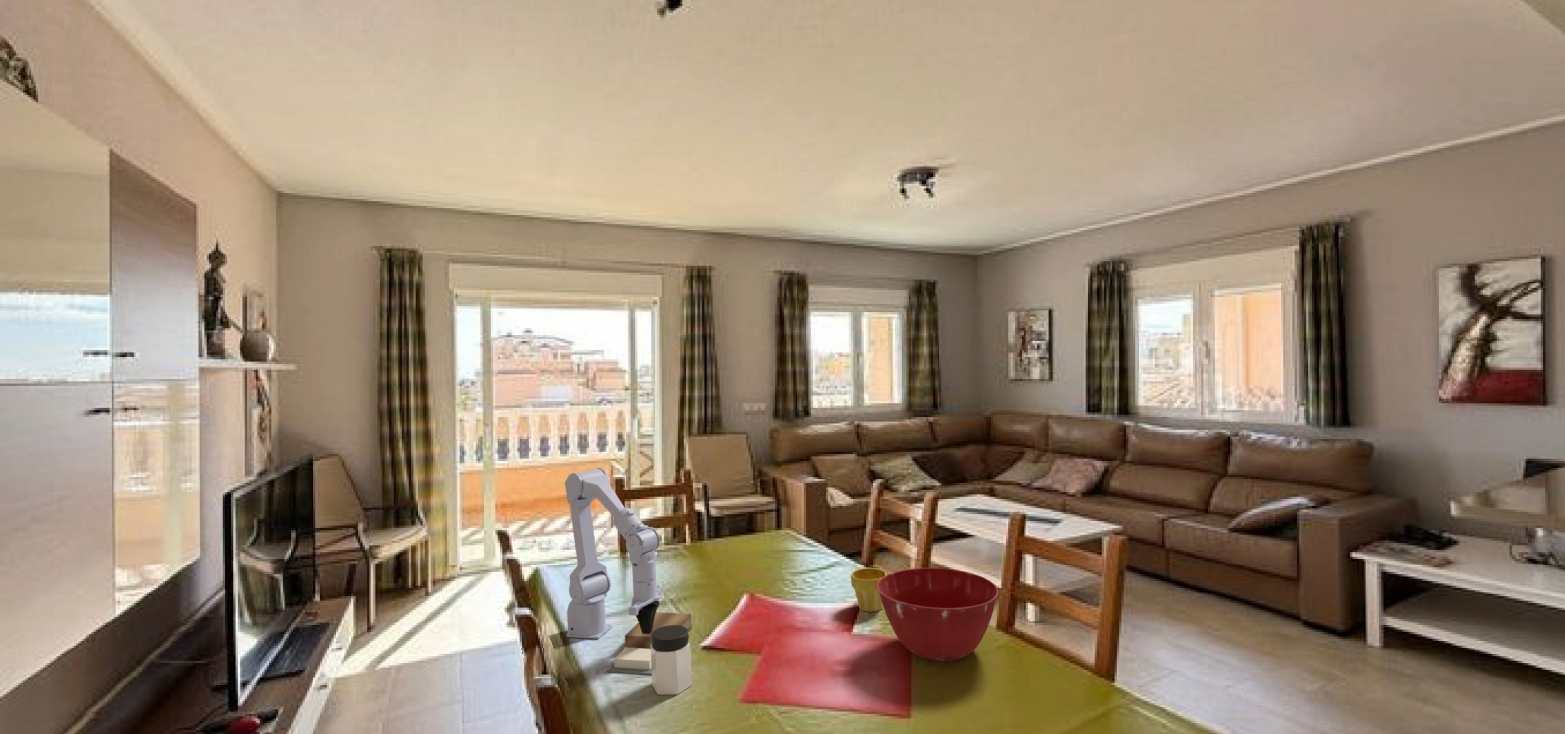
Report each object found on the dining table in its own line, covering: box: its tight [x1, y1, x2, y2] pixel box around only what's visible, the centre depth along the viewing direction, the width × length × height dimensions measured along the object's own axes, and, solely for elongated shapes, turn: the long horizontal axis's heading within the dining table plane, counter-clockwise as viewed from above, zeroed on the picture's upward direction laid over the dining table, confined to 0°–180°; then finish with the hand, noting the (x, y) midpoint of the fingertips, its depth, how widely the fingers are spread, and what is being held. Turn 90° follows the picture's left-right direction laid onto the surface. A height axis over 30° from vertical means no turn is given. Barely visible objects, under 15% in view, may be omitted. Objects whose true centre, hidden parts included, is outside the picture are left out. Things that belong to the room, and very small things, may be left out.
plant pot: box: [850, 567, 888, 613], centre depth 181 cm, size 10×10×10 cm
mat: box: [606, 663, 652, 676], centre depth 153 cm, size 12×10×1 cm
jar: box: [651, 625, 693, 696], centre depth 142 cm, size 9×8×12 cm
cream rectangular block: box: [613, 647, 652, 670], centre depth 153 cm, size 9×6×2 cm, turn 78°
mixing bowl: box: [877, 567, 999, 662], centre depth 154 cm, size 28×28×15 cm
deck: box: [624, 611, 693, 649], centre depth 166 cm, size 12×15×4 cm
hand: (647, 632), depth 159 cm, fingers closed
